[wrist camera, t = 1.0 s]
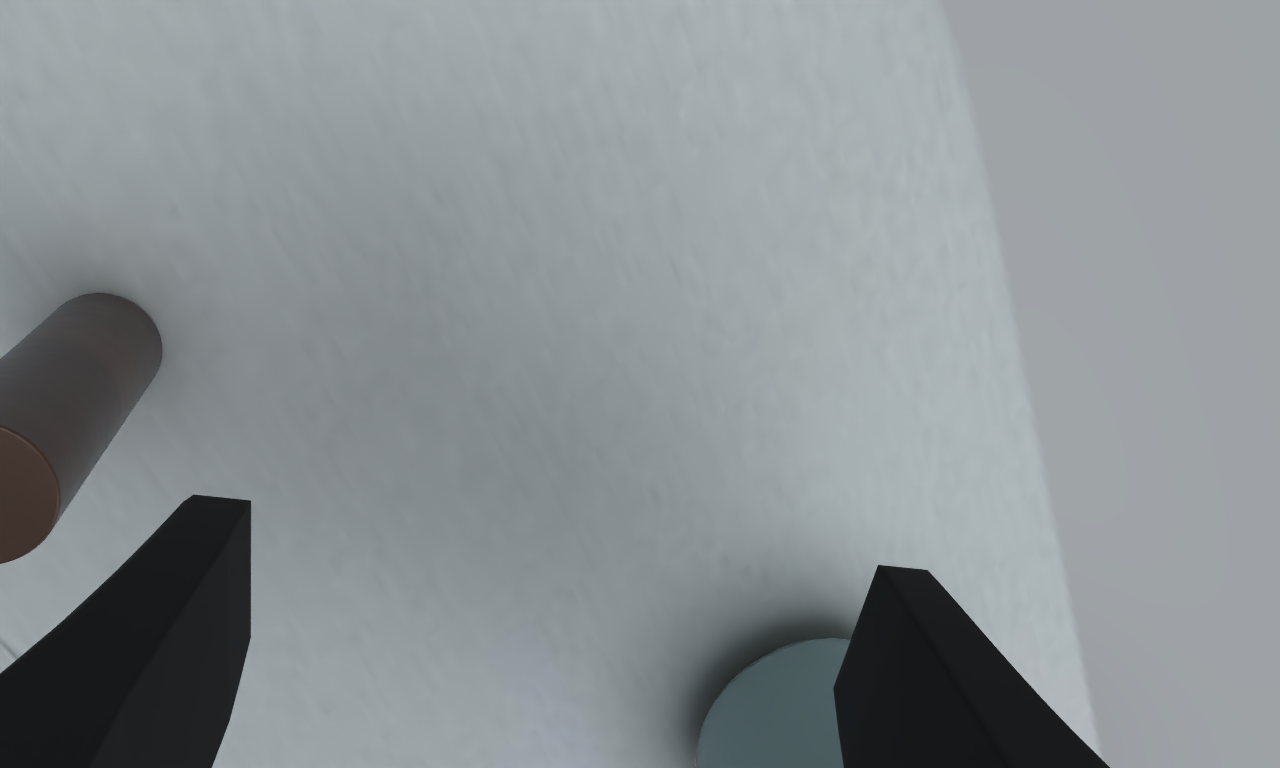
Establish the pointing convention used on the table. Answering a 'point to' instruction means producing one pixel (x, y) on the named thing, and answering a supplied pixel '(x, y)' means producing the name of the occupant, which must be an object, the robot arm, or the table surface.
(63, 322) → the stick
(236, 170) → the table surface
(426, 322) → the table surface
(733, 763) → the cup
